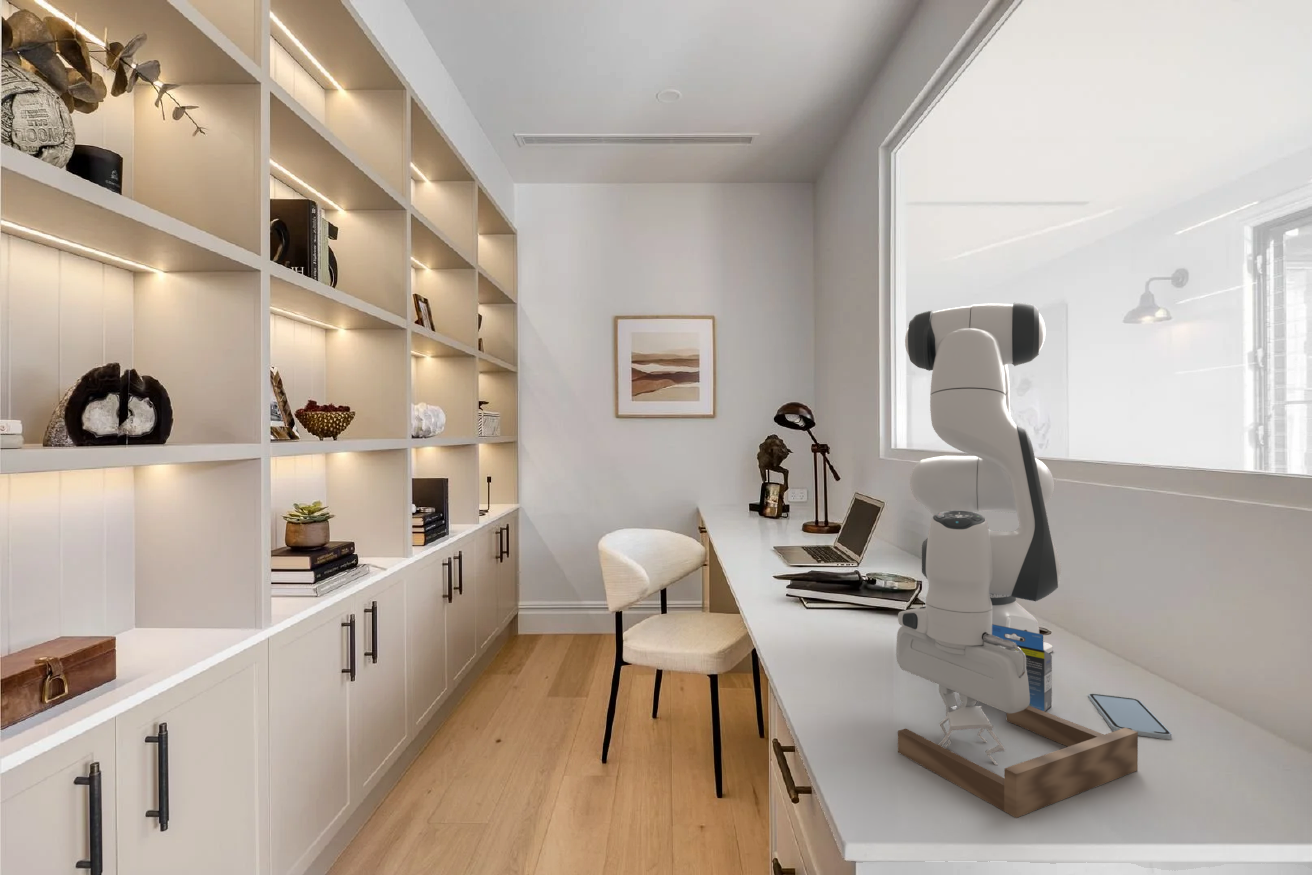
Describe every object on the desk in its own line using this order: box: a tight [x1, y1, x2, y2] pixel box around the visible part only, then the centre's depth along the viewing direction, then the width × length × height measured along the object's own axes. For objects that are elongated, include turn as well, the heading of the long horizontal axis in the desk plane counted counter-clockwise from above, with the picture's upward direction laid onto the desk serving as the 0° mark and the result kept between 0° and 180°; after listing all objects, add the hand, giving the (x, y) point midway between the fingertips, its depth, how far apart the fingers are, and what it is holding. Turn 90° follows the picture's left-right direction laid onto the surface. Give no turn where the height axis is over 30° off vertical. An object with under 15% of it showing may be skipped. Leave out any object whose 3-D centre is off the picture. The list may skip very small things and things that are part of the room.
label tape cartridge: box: [992, 624, 1053, 712], centre depth 110 cm, size 9×4×12 cm, turn 42°
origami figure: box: [938, 705, 1006, 766], centre depth 93 cm, size 12×8×5 cm
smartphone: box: [1088, 693, 1172, 740], centre depth 104 cm, size 7×1×15 cm
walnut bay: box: [897, 706, 1139, 819], centre depth 90 cm, size 24×18×5 cm
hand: (957, 720), depth 98 cm, fingers closed
